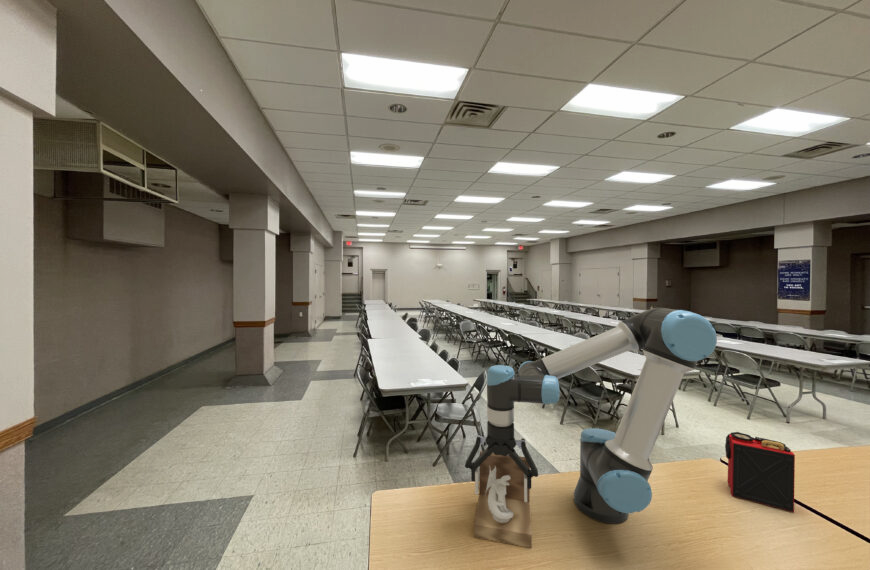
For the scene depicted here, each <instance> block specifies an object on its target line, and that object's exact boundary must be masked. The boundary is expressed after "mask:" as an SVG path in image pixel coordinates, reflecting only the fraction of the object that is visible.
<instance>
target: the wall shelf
mask: <svg viewBox="0 0 870 570" xmlns="http://www.w3.org/2000/svg"><path fill="white" fill-rule="evenodd" d="M483 452H484V451H479V456H480V455H481V454H482V453H483ZM519 457H520V458H521V459H522V460H523V462H524V463H525V464H526V465H527V467H528V468H529V469H530V467H529V465H528V463H527V461H526V459H525V457H524V456H520V455H519ZM489 465H490V466H489ZM495 466H496V480H497V479H501V477H503V476H507V475H509V476H510V478H511V479H510V480H507V481H506V482H508V483H509V486H508V485H506V495H505V502H506V508H507V509H509V510H511V511H512V512H513V514H514V515H513V517H512V518H510V520H509V521H508V522H506V523H500V522H497V521H496V520H494V518H493V514H492V513H491V510H489V506H488V495H489V490H490V488H491V487H489V488H488V489H487V490H488V491H486V488H487V482H488V478H489V473H490V469H491V471H492V470H494V468H495ZM530 470H531V469H530ZM530 491H531V489H527V502H524V473H523V471H522V470H521V469H520V468H519V466H518V465H517V464H516V463H515V461H514V460H513V459H512V458H511V457H510V456H509V455H506V456H503V455H495V454H494V453H492V454H491V455H490V456H488V457H487V458H486V460H485V461H484V462H483V463H482V464H481V465H480V466H479V491H478V500H477V505H476V512H475V518H474V523H473V538H475V537H476V539H480V538H483V539H482V540H486V539H489V540H488V541H491V540H493V541H492V542H496V541H497V542H498V543H501V542H502V543H503V544H508V545H512V544H513V545H512V546H517V545H518V547H522V548H528V549H532V545H533V544H532V541H533V538H532V535H533V534H532V533H533V532H532V517H531V504H530V501H531V500H530ZM485 493H486V495H485ZM497 499H498V494H497ZM502 543H501V544H502Z"/></svg>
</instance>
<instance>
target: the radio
mask: <svg viewBox="0 0 870 570" xmlns="http://www.w3.org/2000/svg"><path fill="white" fill-rule="evenodd" d="M724 449H725V457H726V458H727V484H728V487H729V489H730V494H731V496H732V497H735V498H738V499H742V500H746V501H749V502H754V503H757V504H761V505H765V506H769V507H774V508H776V509H780V510H784V511H788V512H792V513H795V472H796V471H795V468H796V465H795V461H796V459H795V458H796V455H795V453H794V452H793V451H792V449H790V448H789V447H788V446H787V445H786V444H785V443H783V442H781V441H777V440H771V439H768V438H764V437H758V436H755V437H754V436H751V435H749V434H747V433H742V432H739V431H735V432H733V431H731V432H730V433H728V434H727V435H726V437H725V444H724Z"/></svg>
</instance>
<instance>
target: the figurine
mask: <svg viewBox="0 0 870 570" xmlns="http://www.w3.org/2000/svg"><path fill="white" fill-rule="evenodd" d="M489 466H490V465H489ZM510 479H511V478H510V476H509V475H507V476H503V477H501V479H497V480H496V466H495V468H494V470H492V471H491V469H490V473H489V478H488V482H487V488H486V491H488V490H487V489H488V488H489V487H491V488H490V490H489V495H488V506H489V510H491V513H492V514H493V518H494V520H496V521H497V522H500V523H506V522H508V521H509V520H510V518H512V517H513V515H514V514H513V512H512V511H511V510H509V509H507V508H506V502H505V495H506V485H508V486H509V483H508V482H506V481H507V480H510ZM497 494H498V499H497ZM485 495H486V493H485Z"/></svg>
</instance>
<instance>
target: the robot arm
mask: <svg viewBox="0 0 870 570" xmlns="http://www.w3.org/2000/svg"><path fill="white" fill-rule="evenodd" d="M716 332H717V331H716V330H715V328H714V326H713V325H712V323H711V322H710V321H709V320H708V319H707V318H705V317H704V316H702V315H701V314H698V313H696V312H692V311H688V310H685V309H675V308H674V309H672V308H667V307H654V308H650V309H648V310H644V311H642V312H640V313H639V312H638V313H637V314H635V315H633V316H630V317H628V318H625V319H623V320H620V321H619V322H618V323H617V326H616V327H613V328H611V329H608V330H606V331H604V332H602V333H599V334H597V335H595V336H592V337H590V338H587V339H585V340H583V341H581V342H578V343H576V344H573V345H569V346H568V347H566V348H564V349H561V350H559V351H557V352H554V353H552V354H549V355H547V356H544V357H542V358H540V359H537V360H535V361H531V360H528V361H524V362H523V363H521V364H520V366H519V367H518V371H517V372H518V373H516V372H515V370H514V368H513V367H512V366H509V365H503V364H495V365H492V366H490V367H489V368H488V369H487V373H486V375H487V376H486V396H487V397H486V399H487V400H486V402H487V403H486V404H487V406H486V418H487V423H486V429H487V431H486V434H487V435H486V436H482V434H481V433H478V434H477V435H476V439H475V443H474V446H473V448H471V450H470V453H469V455H468V456H467V459H466V461H465V464H464V467H465V469H469V470H470V471H471V474H470V475H471V476H470V477H471V482H474V483H475V484H474V486H475V487H474V495H475V496H479V466H480V465H481V464H482V463H483V462H484V461H485V460H486V458H487V457H488V456H490V455H491V454H492V453H494V454H495V455H503V456H506V455H509V456H510V457H511V458H512V459H513V460H514V461H515V463H516V464H517V465H518V466H519V468H520V469H521V470H522V471H523V473H524V502H527V489H530V490H531V489H532V478H534V477H535V478H537V477H539V471H538V468H537V466H536V464H535V462H534V460H533V458H532V455H531V454H530V452H529V450H528V448H527V443H526V438H521V439H515V423H514V421H515V402H516V403H530V404H543V405H547V404H550V405H551V404H552V405H553V404H554V405H555V404H557V403H558V402H559V401H560V392H561V391H560V383H559V379H561V378H563V377H566V376H569V375H571V374H573V373H577V372H579V371H581V370H584V369H586V368H589V367H591V366H594V365H596V364H599V363H601V362H603V361H606V360H609V359H612V358H614V357H616V356H620V355H621V354H624V353H627V352H629V351H634V352H639V351H641V350H642V352H643V354H644V357H645V361H644V363H643V366H642V368H641V371H640V373H639V375H638V379H637V381H636V384H635V386H634V388H633V391H632V393H631V396H630V398H629V400H628V402H627V406H626V408H625V411H624V412H623V415H622V417H621V420H620V423H619V425H618V427H617V430H616V432H614V431H611V430H607V429H605V428H602V429H601V428H595V427H593V428H592V427H591V428H585V429H583V430H582V431H581V432H580V439H579V443H580V445H579V447H580V449H579V450H580V454H579V455H580V456H579V465H580V466H579V471H580V472H579V473H580V474H579V478H578V481H577V483H576V484H575V485H576V486H575V488H574V491H573V502H574V505H575V507H576V508H577V509H578V510H579V511H580V512H581V513H583V514H584V515H585V516H586V517H589V518H590V519H593V520H595V521H598V522H601V523H606V524H621V523H624V522H625V521H627V520H628V518H629V514H634V513H636V512H637V513H639V512H642V511H644V510H645V509H646V508H647V507H648V506H649V505H650V503H651V501H652V498H653V492H652V487H651V485H650V483H649V482H648V481H649V479H650V476H651V474H652V473H653V472H652V471H653V470H654V469H653V468H654V466H653V463H652V462H651V460H650V456H651V454H652V451H653V449H654V447H655V444H656V443H657V439H658V438H659V435H660V433H661V430H662V428H663V426H664V423H665V420H666V418H667V416H668V413H669V411H670V408H671V406H672V405H673V404H672V403H673V401H674V398H675V396H676V394H677V391H678V389H679V388H680V384H681V381H682V379H683V377H684V375H685V374H686V373H688V372H691V371H692V372H693V371H695V368H696V365H697V364H698V362H699V361H701V360H704V359H705V358H708V357H709V356H711V355H712V353H713V352H714V351H715V349H716V346H717V342H718V340H717V339H718V338H717V333H716ZM484 443H485V444H486V445H487V447H486V448H485V449H484V451H482V452H483V453H482V454H481V455H480V454H479V455H478V457H477V458H476V459H475V460H474V458H475V457H476V454H477V453H478V452H479V448H480V447H481V446H482V445H484ZM516 446H517V448H518V449H519V450H521V453H522V454H523V457H525V459H526V461H527V463H528V465H529V467H530V469H529V468H528V467H527V465H526V464H525V463H524V462H523V460H522V459H521V458H520V457H521V456H520V455H519V454H518V452H516V449H515V448H516ZM519 456H520V457H519Z"/></svg>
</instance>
